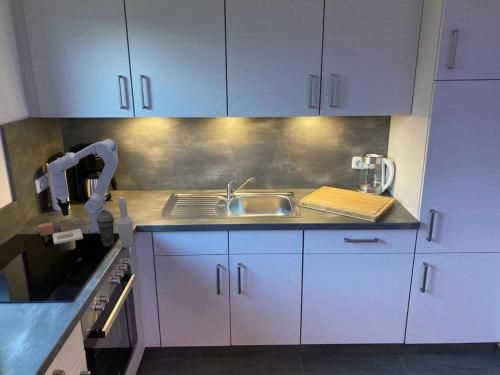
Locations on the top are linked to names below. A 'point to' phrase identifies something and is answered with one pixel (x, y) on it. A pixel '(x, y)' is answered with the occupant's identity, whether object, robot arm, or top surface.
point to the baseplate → (67, 236)
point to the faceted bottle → (125, 225)
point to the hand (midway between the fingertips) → (65, 213)
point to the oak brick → (67, 225)
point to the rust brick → (46, 228)
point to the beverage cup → (106, 227)
